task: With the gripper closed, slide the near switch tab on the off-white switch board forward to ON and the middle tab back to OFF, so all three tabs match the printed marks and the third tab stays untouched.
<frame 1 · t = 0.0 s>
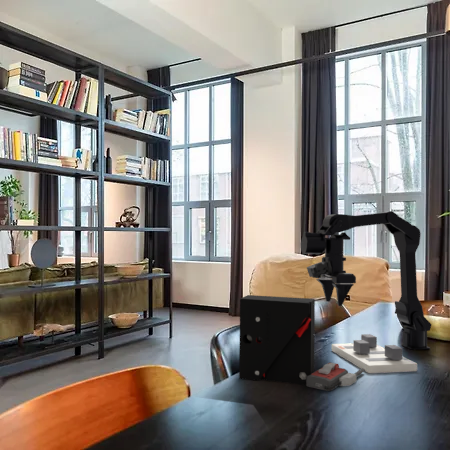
hand: (333, 303, 144), 15 cm above the table, fingers open, 9 cm apart
switch board: (370, 359, 133), on the table
tab 2: (361, 346, 133), point 4 cm above the table, slide at 6.0 cm
electrical component: (277, 378, 116), on the table
tab 1: (368, 340, 141), point 4 cm above the table, slide at 0.0 cm
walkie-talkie: (336, 382, 114), on the table
tab 3: (393, 352, 127), point 4 cm above the table, slide at 0.0 cm
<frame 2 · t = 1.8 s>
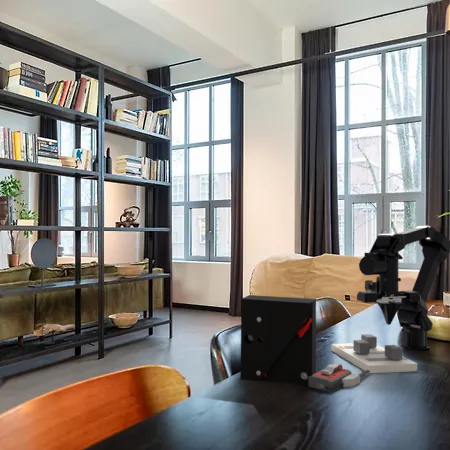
hand: (388, 324, 142), 9 cm above the table, fingers closed
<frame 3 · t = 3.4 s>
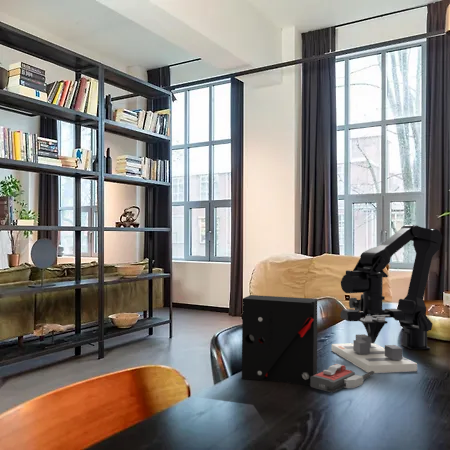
hand: (372, 343, 141), 3 cm above the table, fingers closed
electrical component: (280, 378, 115), on the table, touching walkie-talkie
tab 1: (363, 340, 140), point 4 cm above the table, slide at 1.9 cm, touching gripper
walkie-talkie: (342, 384, 113), on the table, touching electrical component
everything else where it was.
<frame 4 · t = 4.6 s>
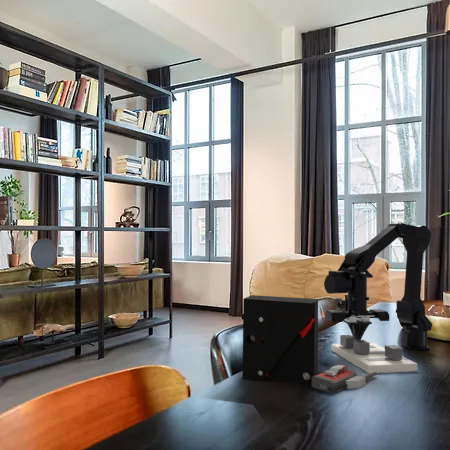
hand: (356, 343, 140), 3 cm above the table, fingers closed
tab 1: (347, 341, 139), point 4 cm above the table, slide at 7.0 cm, touching gripper
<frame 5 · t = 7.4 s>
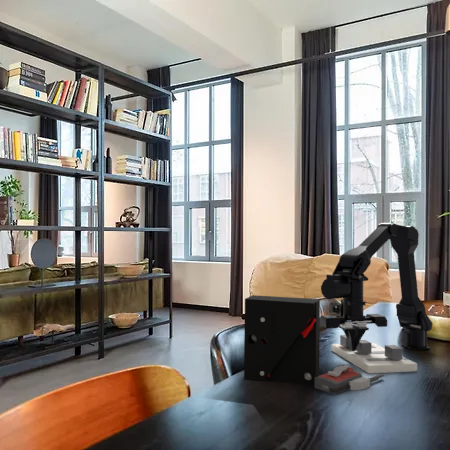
hand: (353, 350, 132), 3 cm above the table, fingers closed
tab 2: (363, 346, 133), point 4 cm above the table, slide at 5.4 cm, touching gripper
electrical component: (282, 378, 115), on the table
tab 1: (347, 341, 139), point 4 cm above the table, slide at 7.0 cm
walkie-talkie: (349, 386, 111), on the table
everything else where it was.
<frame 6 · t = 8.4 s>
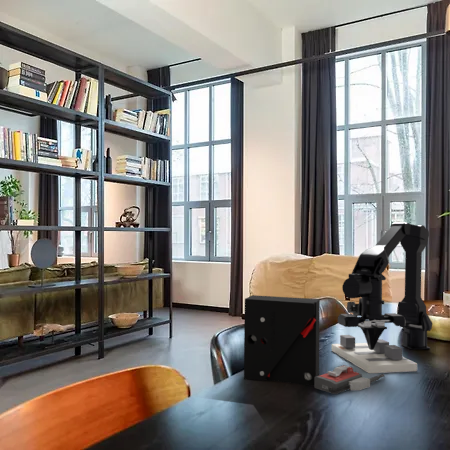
hand: (371, 349, 133), 3 cm above the table, fingers closed
tab 2: (380, 346, 134), point 4 cm above the table, slide at -0.1 cm, touching gripper
everything else where it was.
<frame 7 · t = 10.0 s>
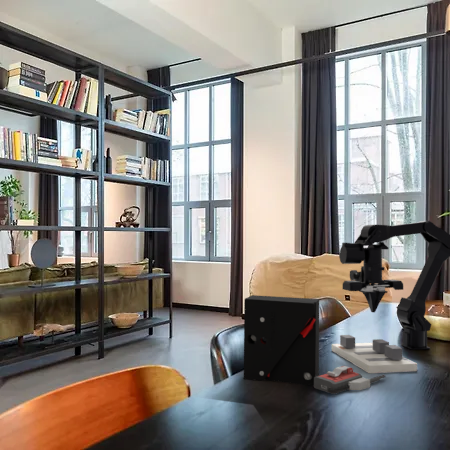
hand: (373, 312, 147), 12 cm above the table, fingers closed
tab 2: (380, 346, 134), point 4 cm above the table, slide at -0.1 cm
everything else where it was.
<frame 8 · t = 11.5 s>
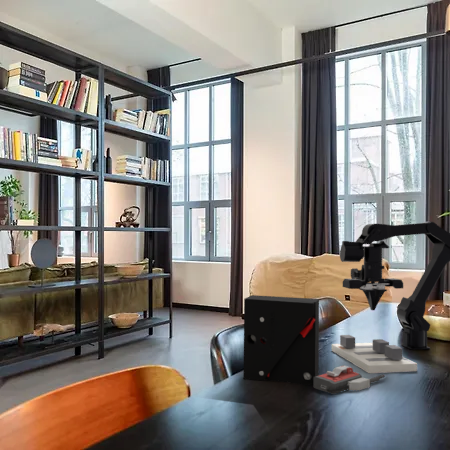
hand: (372, 310, 149), 12 cm above the table, fingers closed
nothing on the table moved.
at the end: tab 1 slide at 7.0 cm; tab 2 slide at -0.1 cm; tab 3 slide at 0.0 cm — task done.
